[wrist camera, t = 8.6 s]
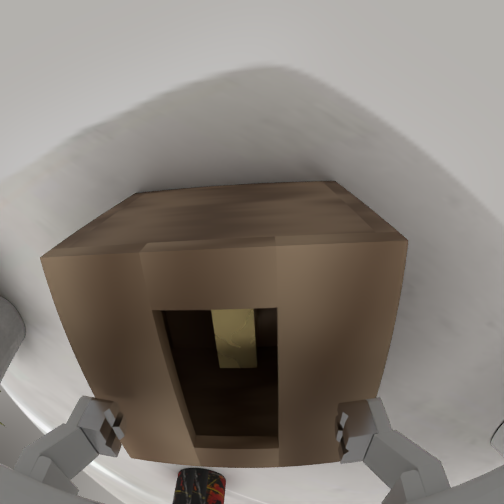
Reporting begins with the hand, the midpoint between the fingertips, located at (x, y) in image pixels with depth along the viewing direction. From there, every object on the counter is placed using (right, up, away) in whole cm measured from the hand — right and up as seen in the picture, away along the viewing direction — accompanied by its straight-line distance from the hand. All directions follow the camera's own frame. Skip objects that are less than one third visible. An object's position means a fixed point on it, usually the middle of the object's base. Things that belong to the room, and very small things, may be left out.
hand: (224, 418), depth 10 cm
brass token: (0, +4, +10) cm, 10 cm away
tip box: (0, +4, +10) cm, 11 cm away
